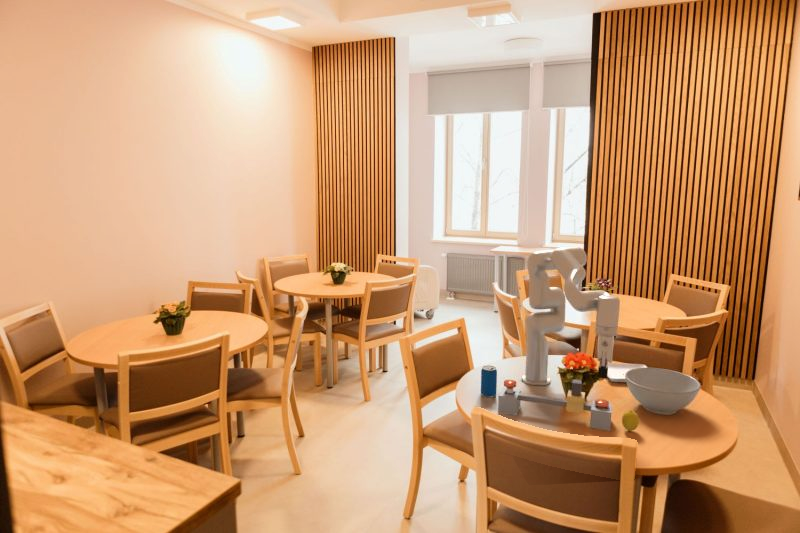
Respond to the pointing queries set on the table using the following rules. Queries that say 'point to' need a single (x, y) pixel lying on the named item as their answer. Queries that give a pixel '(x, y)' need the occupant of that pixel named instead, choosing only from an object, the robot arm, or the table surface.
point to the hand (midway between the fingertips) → (602, 377)
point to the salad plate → (621, 370)
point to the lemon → (630, 420)
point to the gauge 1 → (510, 386)
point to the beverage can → (488, 381)
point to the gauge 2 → (601, 403)
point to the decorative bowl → (662, 389)
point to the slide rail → (512, 405)
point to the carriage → (575, 398)
